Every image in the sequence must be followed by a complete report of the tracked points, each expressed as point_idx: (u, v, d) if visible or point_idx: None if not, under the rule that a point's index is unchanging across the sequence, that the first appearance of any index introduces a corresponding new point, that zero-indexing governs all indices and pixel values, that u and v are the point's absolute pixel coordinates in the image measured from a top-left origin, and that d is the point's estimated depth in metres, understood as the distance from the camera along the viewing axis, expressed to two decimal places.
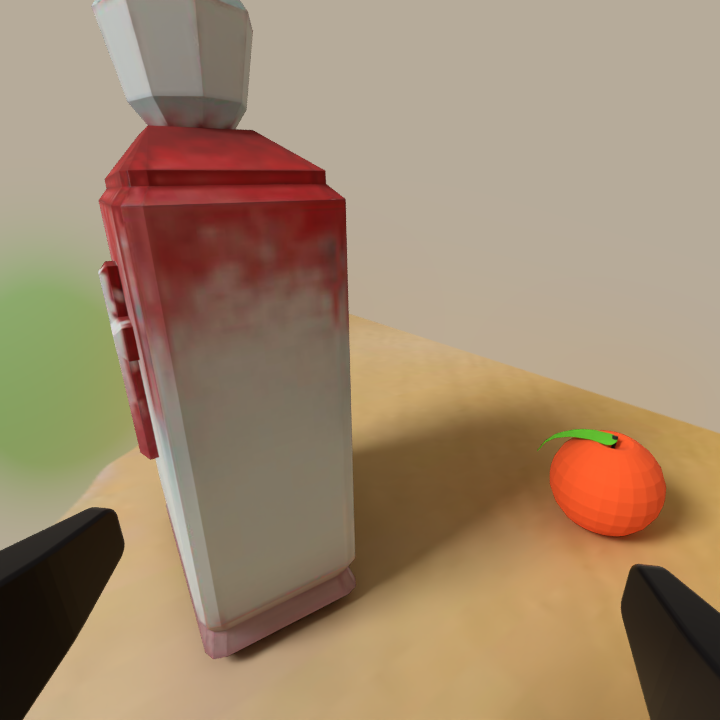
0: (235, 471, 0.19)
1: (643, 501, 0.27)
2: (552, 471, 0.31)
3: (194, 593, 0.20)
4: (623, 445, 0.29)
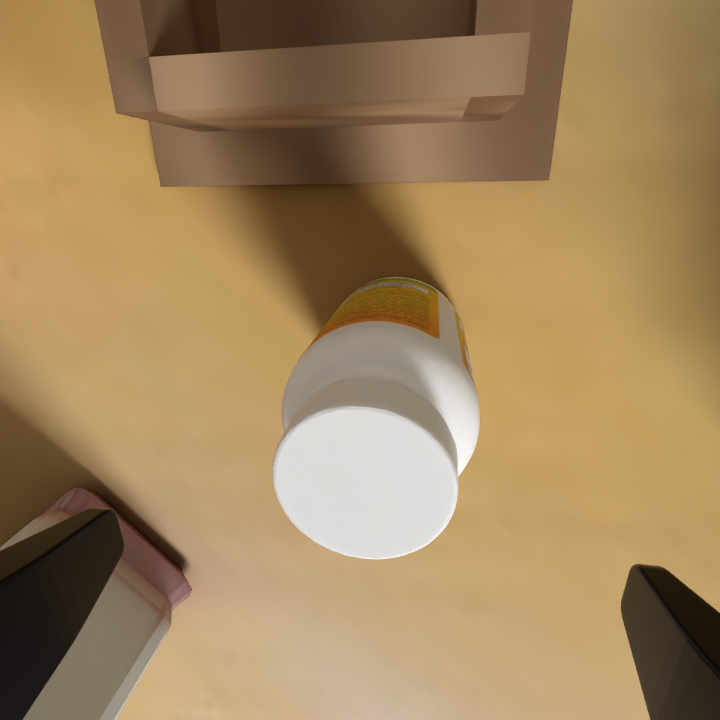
0: None
1: None
2: None
3: (145, 668, 0.21)
4: None
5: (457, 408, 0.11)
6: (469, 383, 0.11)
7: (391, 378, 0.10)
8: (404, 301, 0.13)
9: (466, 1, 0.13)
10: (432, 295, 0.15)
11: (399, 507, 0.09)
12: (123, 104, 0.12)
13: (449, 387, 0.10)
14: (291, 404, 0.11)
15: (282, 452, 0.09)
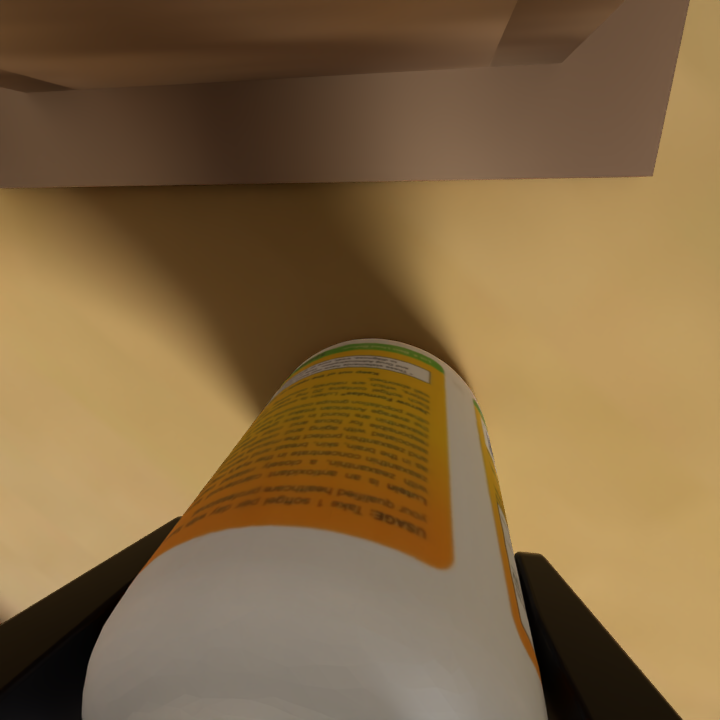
0: None
1: None
2: None
3: None
4: None
5: None
6: (533, 703, 0.04)
7: None
8: (378, 420, 0.07)
9: None
10: (435, 383, 0.09)
11: None
12: None
13: None
14: None
15: None
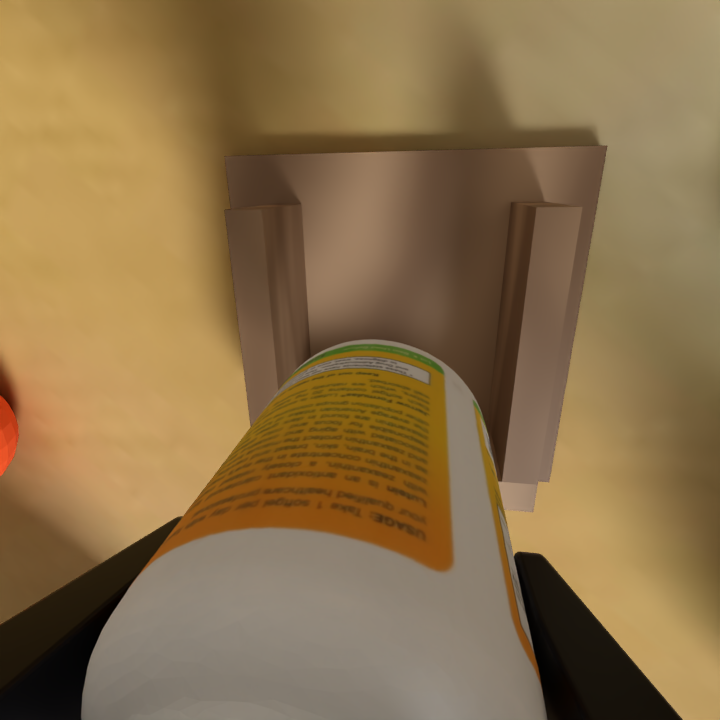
0: None
1: None
2: None
3: None
4: None
5: None
6: (532, 705, 0.04)
7: None
8: (378, 421, 0.07)
9: (491, 379, 0.19)
10: (434, 384, 0.09)
11: None
12: None
13: None
14: None
15: None
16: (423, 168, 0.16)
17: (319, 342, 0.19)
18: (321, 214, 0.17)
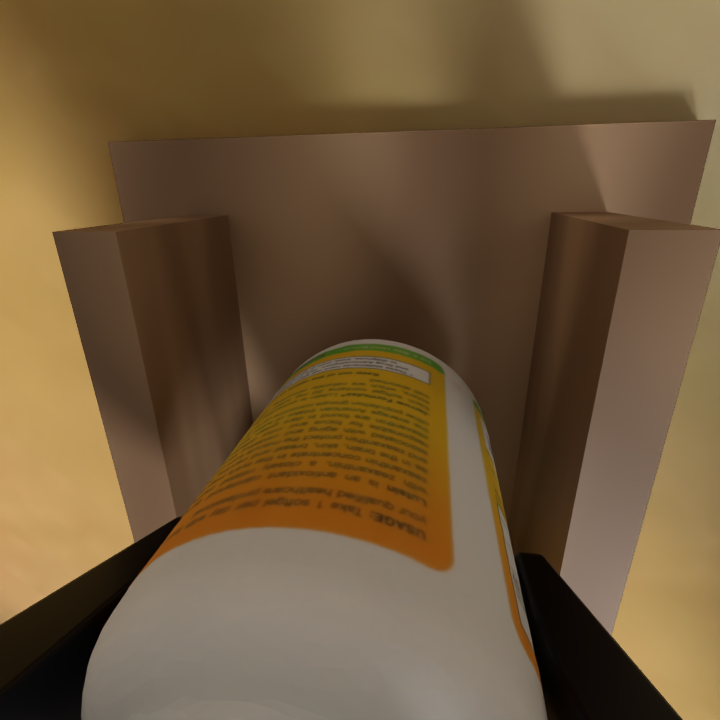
0: None
1: None
2: None
3: None
4: None
5: None
6: (532, 704, 0.04)
7: None
8: (378, 421, 0.07)
9: (515, 469, 0.13)
10: (434, 384, 0.09)
11: None
12: None
13: None
14: None
15: None
16: (412, 159, 0.10)
17: None
18: (257, 230, 0.11)
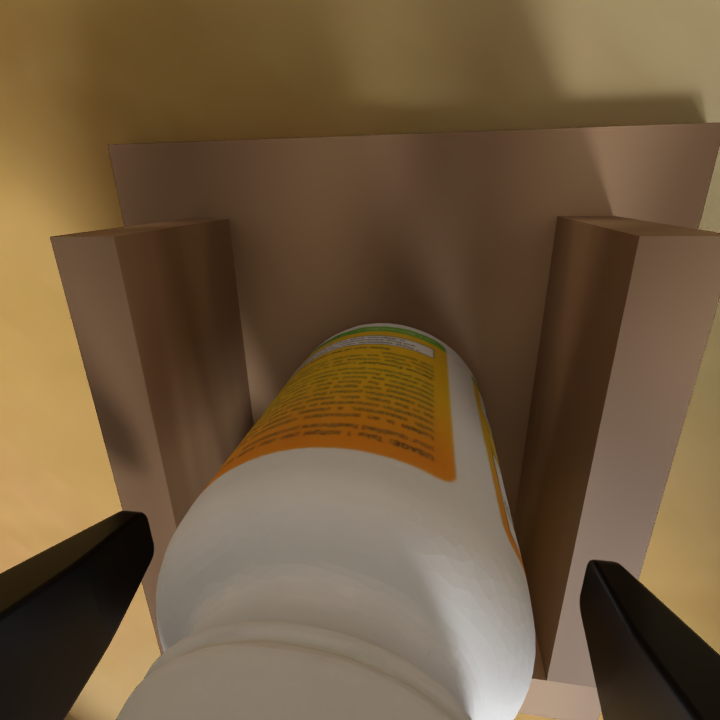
0: None
1: None
2: None
3: None
4: None
5: (497, 649, 0.05)
6: (518, 582, 0.05)
7: (353, 601, 0.05)
8: (391, 381, 0.08)
9: (519, 476, 0.13)
10: (438, 358, 0.10)
11: None
12: None
13: (479, 611, 0.05)
14: (163, 611, 0.06)
15: None
16: (416, 162, 0.10)
17: None
18: (258, 234, 0.11)
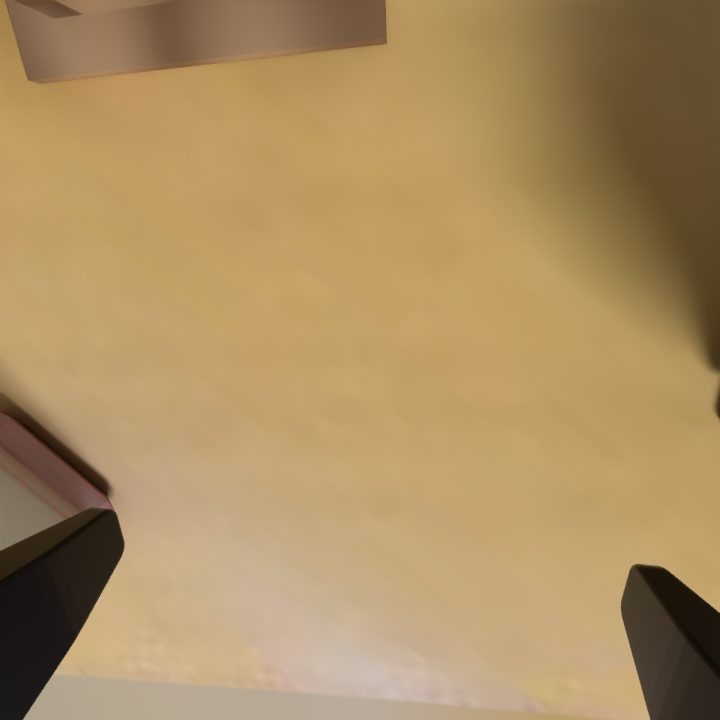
0: None
1: None
2: None
3: None
4: None
5: None
6: None
7: None
8: None
9: None
10: None
11: None
12: None
13: None
14: None
15: None
16: None
17: None
18: None
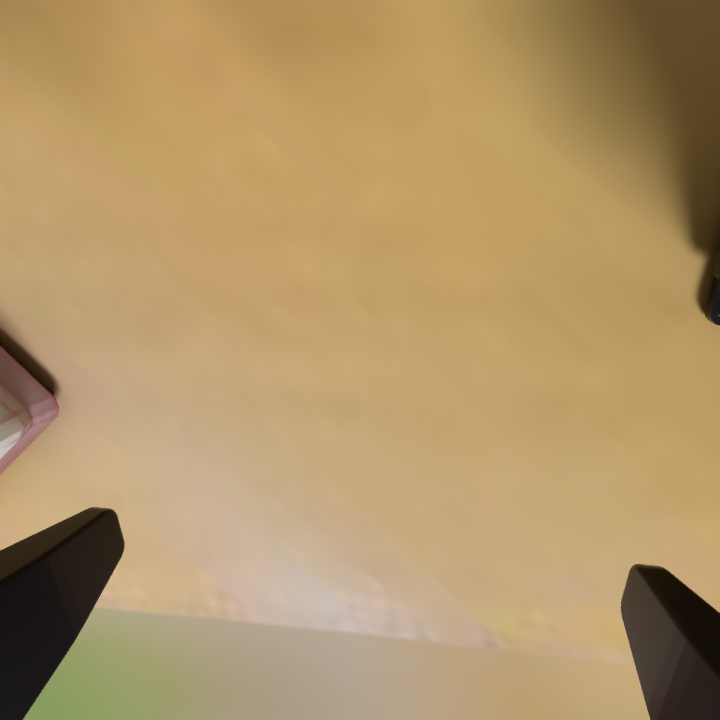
0: None
1: None
2: None
3: None
4: None
5: None
6: None
7: None
8: None
9: None
10: None
11: None
12: None
13: None
14: None
15: None
16: None
17: None
18: None
